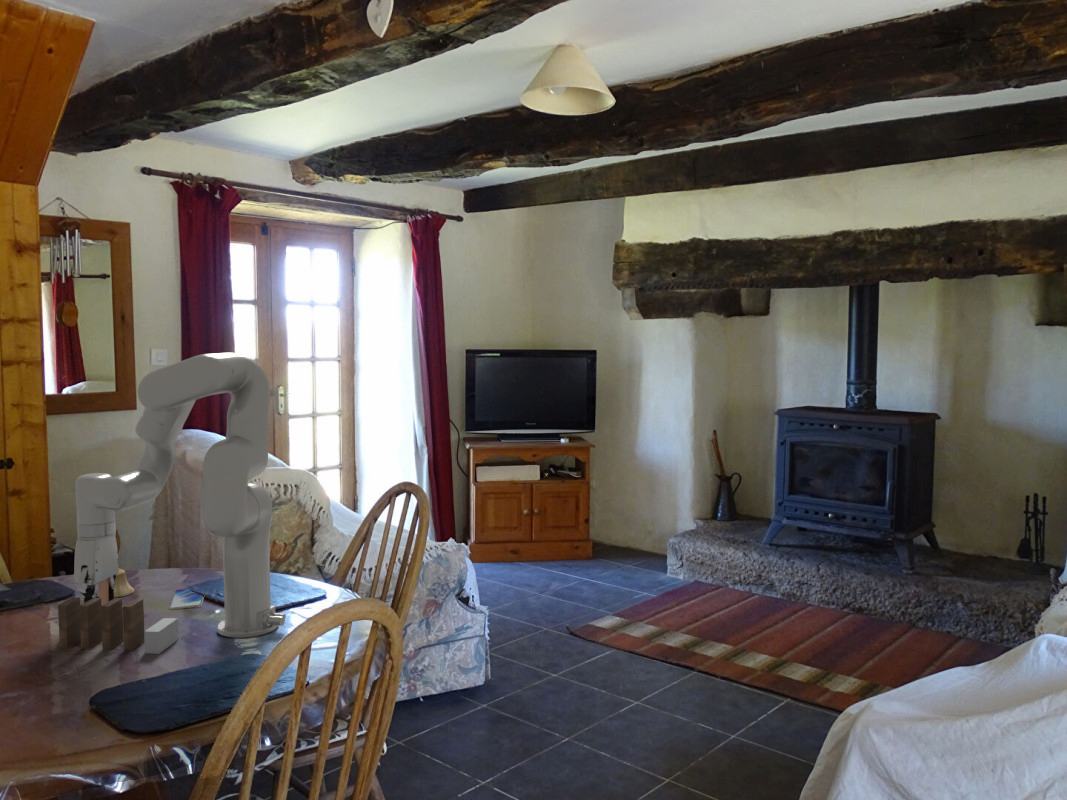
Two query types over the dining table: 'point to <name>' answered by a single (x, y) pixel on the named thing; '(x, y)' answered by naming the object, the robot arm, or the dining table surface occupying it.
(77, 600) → the domino
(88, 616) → the domino
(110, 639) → the domino
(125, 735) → the dining table surface
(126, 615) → the domino
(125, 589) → the hand bell
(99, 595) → the domino
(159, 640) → the block
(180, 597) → the smartphone
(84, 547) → the robot arm
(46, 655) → the dining table surface
